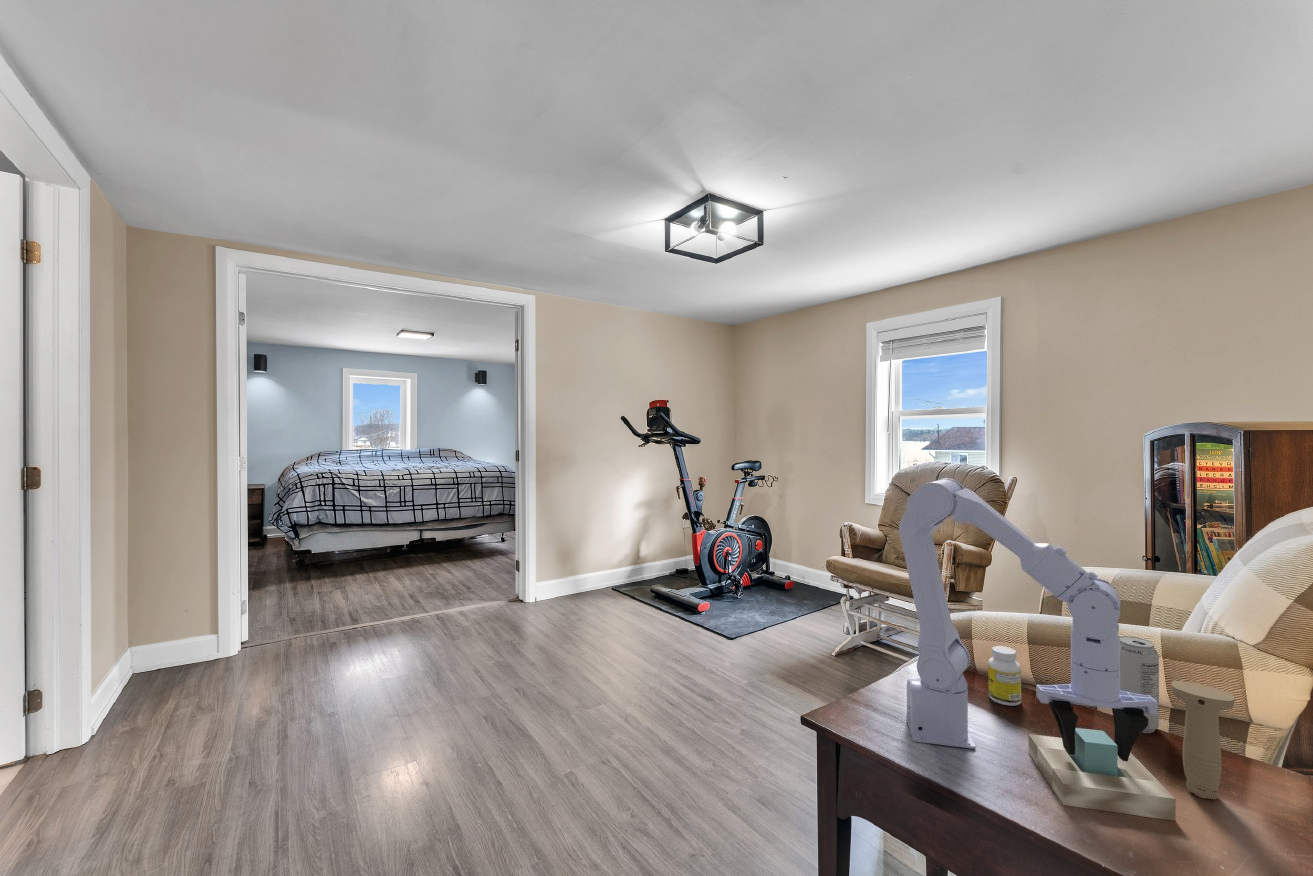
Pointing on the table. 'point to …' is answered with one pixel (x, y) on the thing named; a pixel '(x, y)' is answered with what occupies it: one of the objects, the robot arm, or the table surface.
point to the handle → (1202, 735)
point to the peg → (1095, 752)
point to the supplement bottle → (1004, 676)
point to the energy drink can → (1140, 672)
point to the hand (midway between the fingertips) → (1094, 754)
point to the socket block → (1102, 783)
